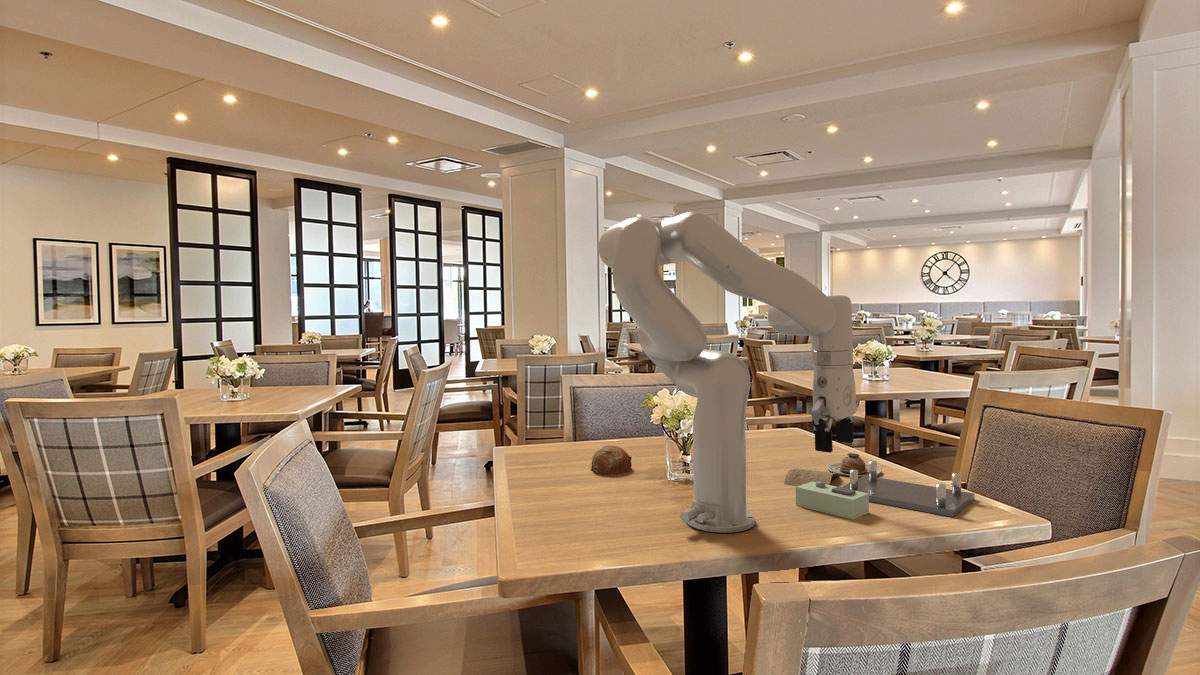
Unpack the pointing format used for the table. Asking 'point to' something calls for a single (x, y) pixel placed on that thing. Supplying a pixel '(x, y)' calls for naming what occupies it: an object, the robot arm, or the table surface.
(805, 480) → the curved roof tile
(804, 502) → the block
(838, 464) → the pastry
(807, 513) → the table surface
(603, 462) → the bread roll
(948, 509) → the chassis
